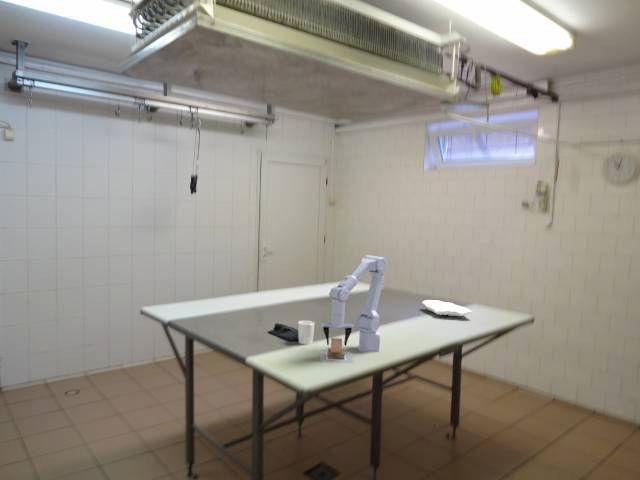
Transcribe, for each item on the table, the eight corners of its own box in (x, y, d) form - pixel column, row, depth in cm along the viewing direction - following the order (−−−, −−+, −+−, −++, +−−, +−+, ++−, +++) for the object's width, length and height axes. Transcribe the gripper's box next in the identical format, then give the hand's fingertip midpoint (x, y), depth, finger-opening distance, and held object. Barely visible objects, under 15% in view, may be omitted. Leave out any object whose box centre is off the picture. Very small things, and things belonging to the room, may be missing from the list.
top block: (340, 349, 207) (341, 338, 206) (341, 352, 202) (342, 341, 202) (330, 349, 206) (331, 338, 206) (331, 352, 202) (331, 341, 202)
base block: (343, 354, 208) (343, 348, 208) (344, 359, 201) (344, 353, 201) (327, 353, 208) (328, 348, 208) (328, 358, 201) (328, 353, 201)
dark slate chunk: (287, 344, 222) (288, 334, 221) (266, 332, 240) (266, 323, 239) (314, 340, 230) (315, 330, 230) (291, 329, 248) (292, 320, 248)
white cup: (313, 340, 228) (314, 320, 227) (313, 345, 220) (314, 325, 219) (297, 340, 227) (298, 320, 227) (297, 345, 219) (298, 324, 219)
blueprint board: (350, 352, 211) (350, 351, 211) (353, 363, 197) (353, 362, 197) (319, 351, 211) (319, 350, 211) (320, 362, 197) (320, 361, 197)
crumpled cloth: (458, 322, 273) (460, 306, 273) (409, 309, 299) (412, 295, 299) (477, 322, 289) (480, 308, 289) (430, 310, 315) (432, 297, 315)
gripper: (321, 315, 199) (320, 346, 200) (355, 317, 199) (353, 347, 200) (321, 311, 206) (319, 341, 207) (353, 313, 206) (352, 343, 207)
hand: (336, 344), depth 204 cm, fingers open, 7 cm apart
